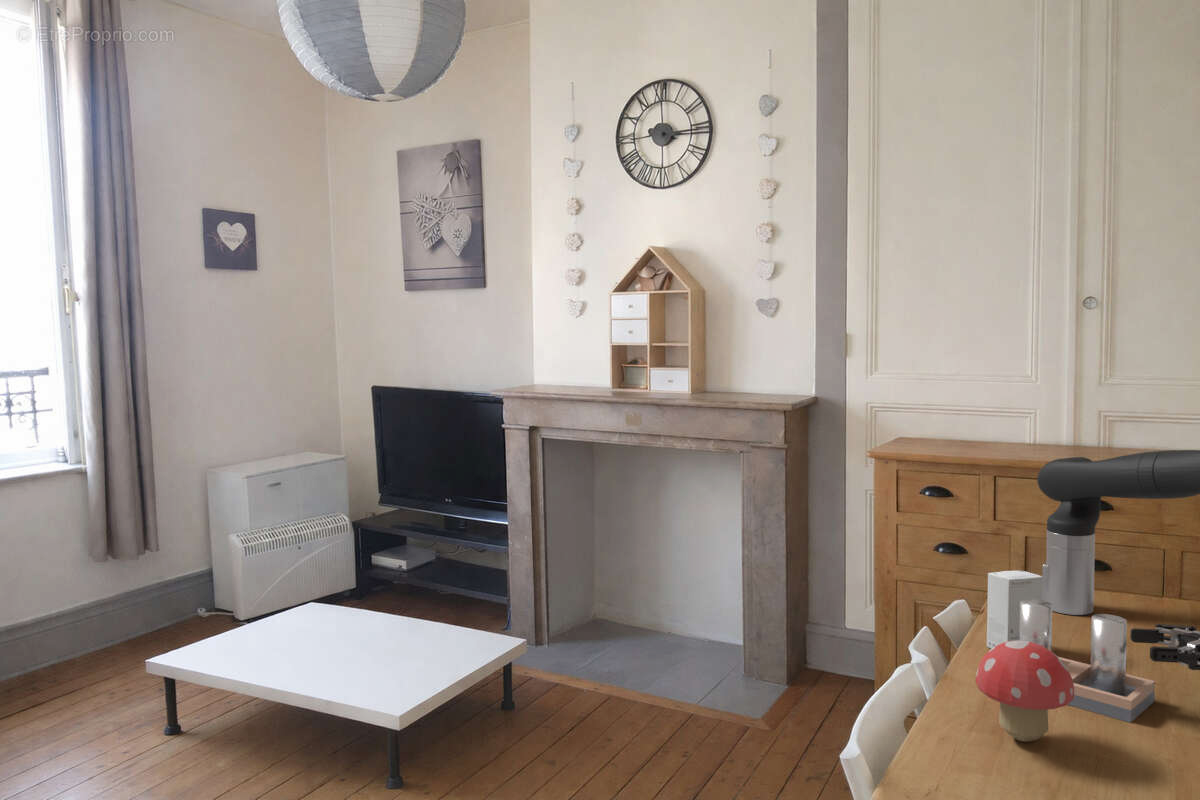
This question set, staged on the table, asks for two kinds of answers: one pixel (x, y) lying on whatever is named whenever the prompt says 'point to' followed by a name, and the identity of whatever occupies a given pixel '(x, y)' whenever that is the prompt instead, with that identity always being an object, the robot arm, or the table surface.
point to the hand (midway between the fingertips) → (1140, 644)
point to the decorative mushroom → (1024, 686)
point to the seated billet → (1036, 622)
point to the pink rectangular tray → (1109, 694)
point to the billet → (1108, 653)
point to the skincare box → (1009, 603)
